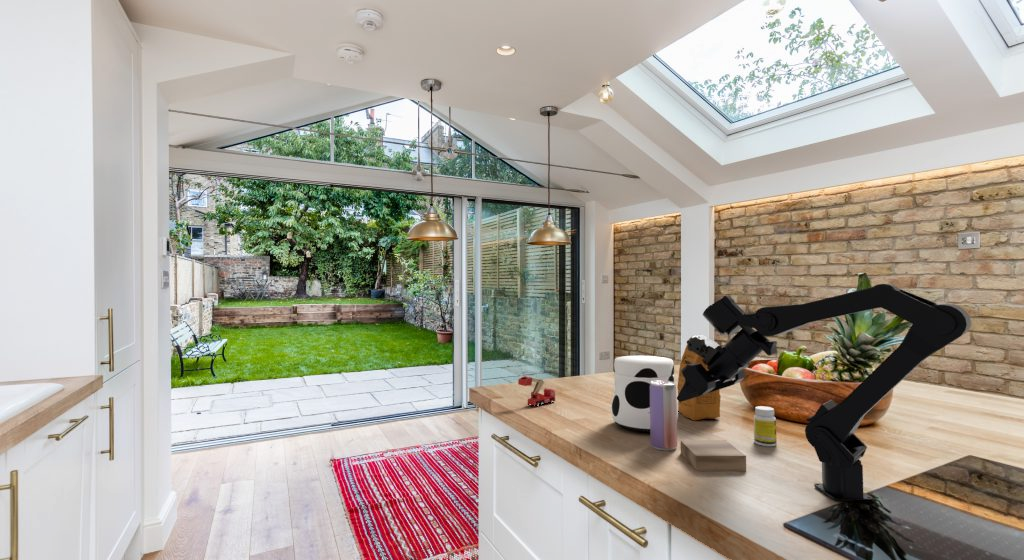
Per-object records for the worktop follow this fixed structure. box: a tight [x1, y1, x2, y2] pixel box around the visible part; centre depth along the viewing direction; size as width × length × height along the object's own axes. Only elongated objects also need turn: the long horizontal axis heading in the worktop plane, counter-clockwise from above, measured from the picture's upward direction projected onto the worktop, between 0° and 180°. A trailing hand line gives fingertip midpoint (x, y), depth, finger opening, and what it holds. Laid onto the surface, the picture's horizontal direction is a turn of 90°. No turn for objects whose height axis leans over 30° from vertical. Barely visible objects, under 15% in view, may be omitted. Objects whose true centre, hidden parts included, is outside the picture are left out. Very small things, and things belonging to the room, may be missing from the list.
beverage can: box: [649, 380, 678, 452], centre depth 112 cm, size 6×6×15 cm
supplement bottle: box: [753, 405, 777, 447], centre depth 114 cm, size 5×5×8 cm
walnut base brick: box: [680, 439, 747, 472], centre depth 103 cm, size 10×10×3 cm
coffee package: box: [676, 337, 721, 421], centre depth 139 cm, size 10×12×22 cm
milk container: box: [610, 355, 679, 433], centre depth 129 cm, size 17×17×18 cm
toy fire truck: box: [517, 375, 556, 405], centre depth 154 cm, size 3×14×10 cm, turn 130°
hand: (688, 396), depth 108 cm, fingers open, 9 cm apart
